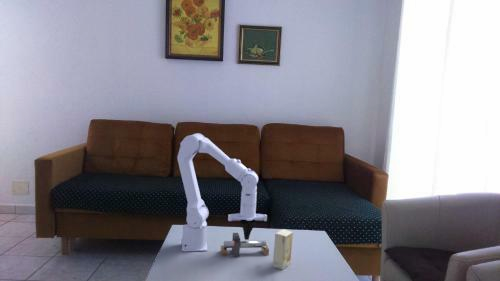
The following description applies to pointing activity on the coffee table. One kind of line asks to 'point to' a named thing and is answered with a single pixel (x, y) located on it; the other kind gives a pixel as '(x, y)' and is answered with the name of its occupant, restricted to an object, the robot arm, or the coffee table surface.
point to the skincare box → (282, 249)
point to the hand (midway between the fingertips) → (246, 238)
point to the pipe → (245, 246)
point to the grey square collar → (236, 245)
